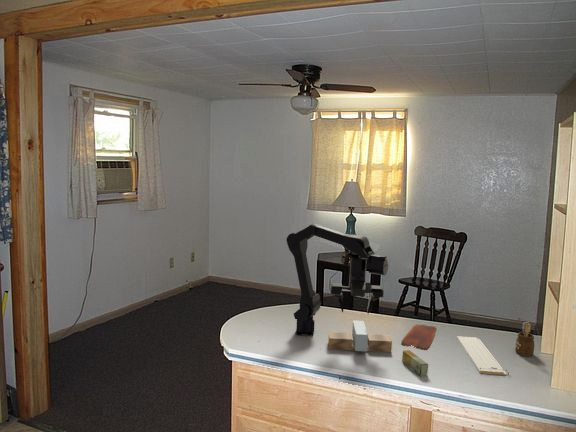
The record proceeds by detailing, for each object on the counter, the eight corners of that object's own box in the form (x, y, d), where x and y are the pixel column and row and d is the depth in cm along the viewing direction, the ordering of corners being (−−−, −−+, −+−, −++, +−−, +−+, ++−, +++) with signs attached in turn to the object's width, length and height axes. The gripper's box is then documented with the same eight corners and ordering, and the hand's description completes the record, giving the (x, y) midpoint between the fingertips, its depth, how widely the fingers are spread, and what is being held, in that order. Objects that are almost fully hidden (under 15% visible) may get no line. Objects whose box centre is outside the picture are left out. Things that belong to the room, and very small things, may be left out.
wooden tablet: (427, 352, 168) (427, 347, 168) (399, 346, 173) (400, 342, 173) (439, 329, 192) (440, 325, 192) (414, 324, 197) (415, 320, 196)
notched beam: (328, 349, 167) (329, 338, 166) (328, 342, 173) (328, 332, 172) (391, 352, 166) (391, 341, 165) (388, 345, 172) (389, 335, 171)
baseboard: (483, 341, 180) (456, 339, 181) (483, 334, 180) (456, 332, 181) (511, 377, 150) (479, 375, 151) (512, 368, 150) (479, 366, 151)
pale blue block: (352, 335, 176) (352, 320, 175) (362, 336, 176) (363, 320, 175) (355, 350, 162) (356, 334, 162) (367, 351, 162) (367, 334, 161)
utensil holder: (532, 351, 170) (535, 319, 169) (534, 358, 164) (537, 325, 163) (514, 349, 172) (517, 317, 171) (516, 355, 166) (519, 322, 165)
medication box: (428, 376, 148) (429, 364, 148) (420, 377, 148) (421, 364, 147) (408, 360, 160) (409, 349, 159) (401, 361, 159) (402, 349, 159)
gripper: (332, 275, 162) (329, 318, 164) (386, 278, 161) (383, 322, 163) (331, 267, 173) (329, 308, 175) (382, 270, 172) (379, 311, 174)
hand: (355, 312), depth 171 cm, fingers open, 9 cm apart
